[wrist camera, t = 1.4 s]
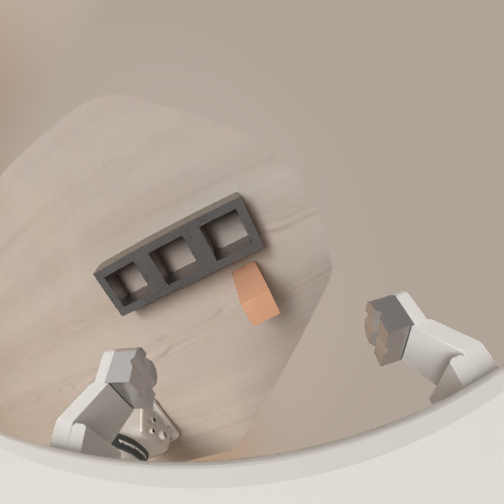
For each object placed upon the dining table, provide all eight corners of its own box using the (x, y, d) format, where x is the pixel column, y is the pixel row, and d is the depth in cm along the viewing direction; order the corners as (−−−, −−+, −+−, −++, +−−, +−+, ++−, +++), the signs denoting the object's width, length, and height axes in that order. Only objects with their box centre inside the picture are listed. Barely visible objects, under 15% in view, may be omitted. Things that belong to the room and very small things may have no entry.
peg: (264, 281, 47) (280, 313, 38) (242, 291, 47) (253, 326, 38) (254, 260, 45) (269, 290, 36) (231, 271, 45) (240, 303, 36)
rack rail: (258, 239, 44) (264, 247, 40) (127, 303, 44) (122, 316, 40) (236, 192, 41) (240, 196, 37) (101, 263, 41) (93, 273, 37)
